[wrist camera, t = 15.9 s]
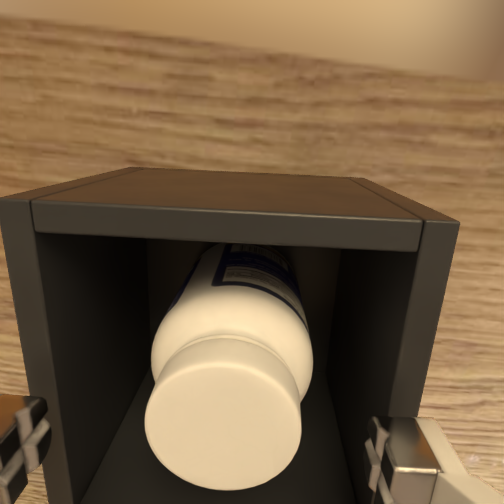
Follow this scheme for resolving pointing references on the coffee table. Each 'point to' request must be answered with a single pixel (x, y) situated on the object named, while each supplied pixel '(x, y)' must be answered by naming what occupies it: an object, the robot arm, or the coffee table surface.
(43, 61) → the coffee table surface
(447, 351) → the coffee table surface
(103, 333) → the bin
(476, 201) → the coffee table surface
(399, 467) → the robot arm
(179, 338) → the pill bottle
